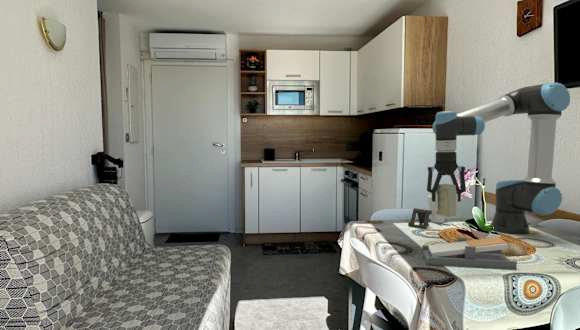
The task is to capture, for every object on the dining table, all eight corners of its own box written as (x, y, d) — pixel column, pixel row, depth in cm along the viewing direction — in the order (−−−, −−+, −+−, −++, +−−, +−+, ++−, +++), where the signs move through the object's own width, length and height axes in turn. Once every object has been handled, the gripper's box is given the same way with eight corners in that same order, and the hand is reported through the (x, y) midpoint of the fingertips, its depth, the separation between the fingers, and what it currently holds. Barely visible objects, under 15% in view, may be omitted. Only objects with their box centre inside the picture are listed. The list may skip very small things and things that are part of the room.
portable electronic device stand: (407, 226, 180) (407, 209, 179) (416, 224, 185) (416, 207, 185) (424, 229, 174) (425, 212, 173) (432, 226, 179) (433, 209, 178)
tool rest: (519, 246, 144) (519, 242, 144) (532, 256, 132) (532, 252, 132) (485, 245, 147) (485, 241, 147) (495, 254, 135) (495, 250, 135)
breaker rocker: (499, 241, 131) (498, 236, 131) (508, 248, 122) (507, 243, 122) (428, 249, 136) (427, 244, 136) (432, 257, 128) (431, 252, 128)
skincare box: (436, 214, 148) (435, 184, 147) (445, 213, 149) (444, 183, 148) (447, 217, 142) (447, 185, 141) (457, 215, 143) (456, 184, 142)
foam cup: (448, 220, 191) (449, 195, 190) (445, 224, 184) (446, 198, 183) (429, 218, 196) (429, 194, 196) (425, 222, 189) (426, 196, 188)
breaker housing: (500, 255, 134) (500, 238, 134) (516, 269, 120) (516, 250, 119) (422, 251, 140) (422, 235, 139) (428, 264, 125) (428, 246, 125)
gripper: (420, 152, 142) (421, 211, 144) (475, 151, 138) (475, 212, 140) (418, 151, 149) (418, 207, 151) (470, 150, 145) (470, 208, 147)
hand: (445, 209), depth 145 cm, fingers closed on skincare box, 7 cm apart
